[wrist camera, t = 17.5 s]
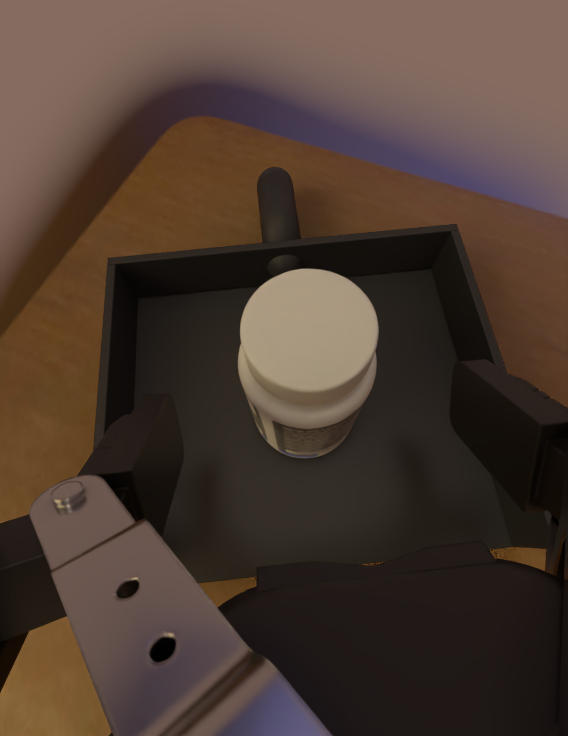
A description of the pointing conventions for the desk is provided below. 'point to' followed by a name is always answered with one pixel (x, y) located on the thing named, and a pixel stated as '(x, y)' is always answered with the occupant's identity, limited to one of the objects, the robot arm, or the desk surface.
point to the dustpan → (368, 433)
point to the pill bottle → (307, 359)
